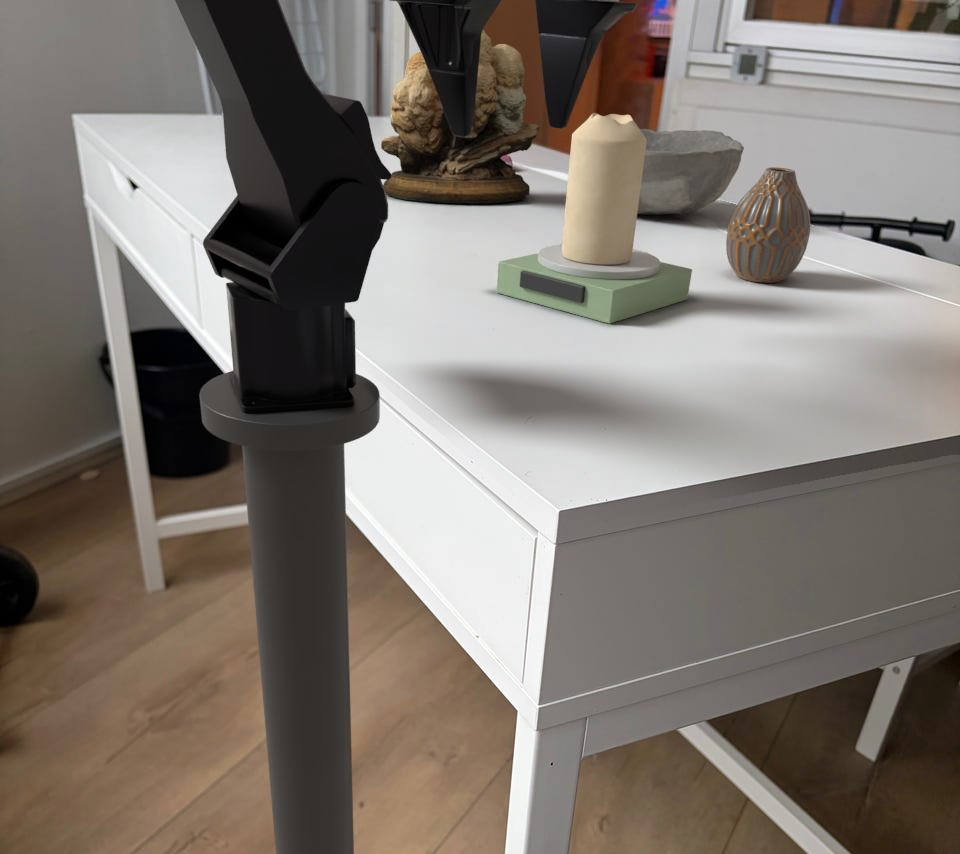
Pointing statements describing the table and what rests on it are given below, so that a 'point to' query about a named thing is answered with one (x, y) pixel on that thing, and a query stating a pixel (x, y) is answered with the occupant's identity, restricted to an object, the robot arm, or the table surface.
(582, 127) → the candle
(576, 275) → the scale
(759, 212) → the vase
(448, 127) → the owl figurine
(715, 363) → the table surface
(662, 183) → the bowl
